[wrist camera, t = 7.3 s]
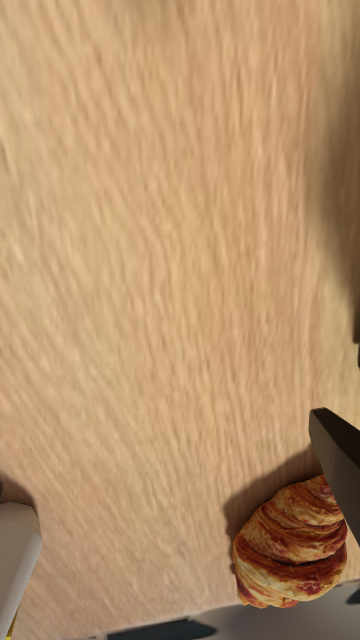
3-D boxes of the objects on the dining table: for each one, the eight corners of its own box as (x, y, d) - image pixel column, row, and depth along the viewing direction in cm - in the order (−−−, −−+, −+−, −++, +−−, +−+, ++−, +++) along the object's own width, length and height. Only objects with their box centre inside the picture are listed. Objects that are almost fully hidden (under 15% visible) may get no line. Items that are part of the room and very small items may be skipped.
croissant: (254, 548, 43) (303, 618, 38) (191, 591, 37) (238, 681, 32) (334, 431, 33) (415, 504, 28) (266, 464, 27) (353, 565, 22)
